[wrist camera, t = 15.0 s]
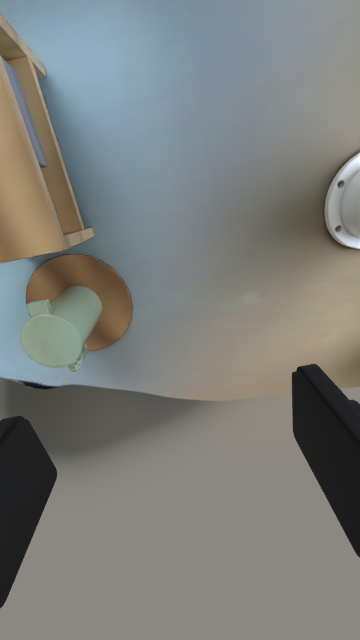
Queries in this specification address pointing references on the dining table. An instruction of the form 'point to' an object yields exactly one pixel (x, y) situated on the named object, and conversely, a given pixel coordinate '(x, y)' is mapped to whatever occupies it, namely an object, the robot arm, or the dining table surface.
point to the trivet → (95, 277)
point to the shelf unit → (31, 162)
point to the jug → (61, 327)
